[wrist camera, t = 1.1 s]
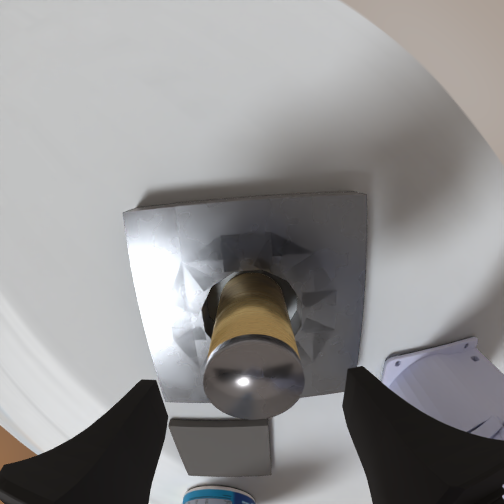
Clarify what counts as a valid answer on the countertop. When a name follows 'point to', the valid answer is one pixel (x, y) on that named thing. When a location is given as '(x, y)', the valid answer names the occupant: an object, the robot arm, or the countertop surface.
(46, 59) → the countertop surface
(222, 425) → the mat
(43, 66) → the countertop surface
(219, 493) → the blue bottle
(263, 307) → the cylindrical knob
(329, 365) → the housing
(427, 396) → the robot arm
